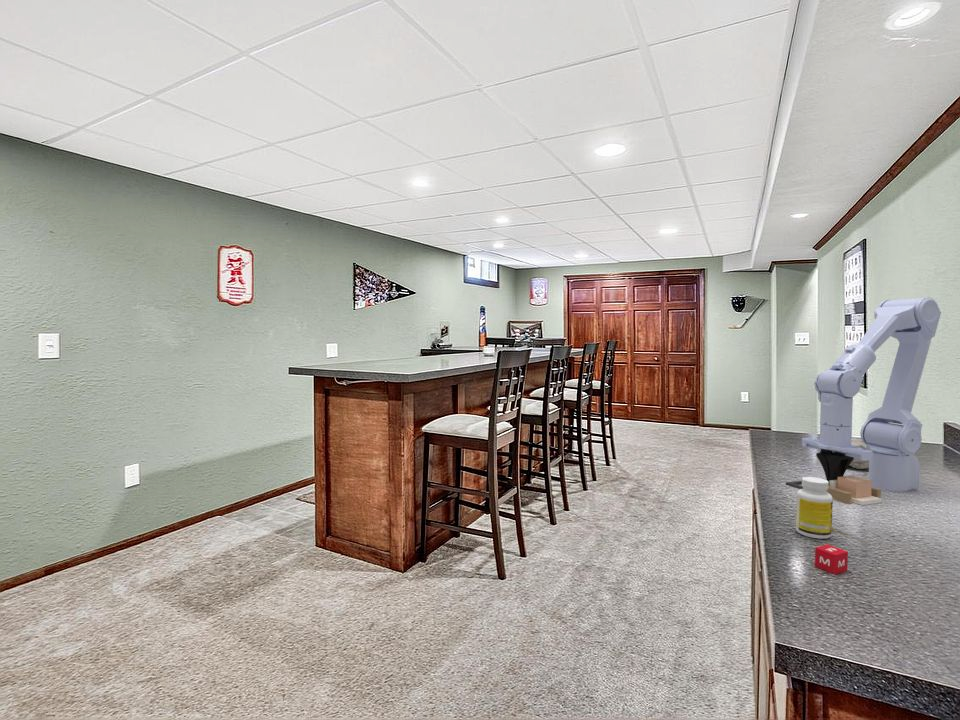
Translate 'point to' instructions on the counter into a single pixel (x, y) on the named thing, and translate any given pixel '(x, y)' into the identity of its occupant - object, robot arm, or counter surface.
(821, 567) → the red letter cube
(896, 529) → the counter surface
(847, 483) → the block
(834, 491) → the track
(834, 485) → the cream low channel
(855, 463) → the fossil replica
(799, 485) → the pit
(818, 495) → the supplement bottle
